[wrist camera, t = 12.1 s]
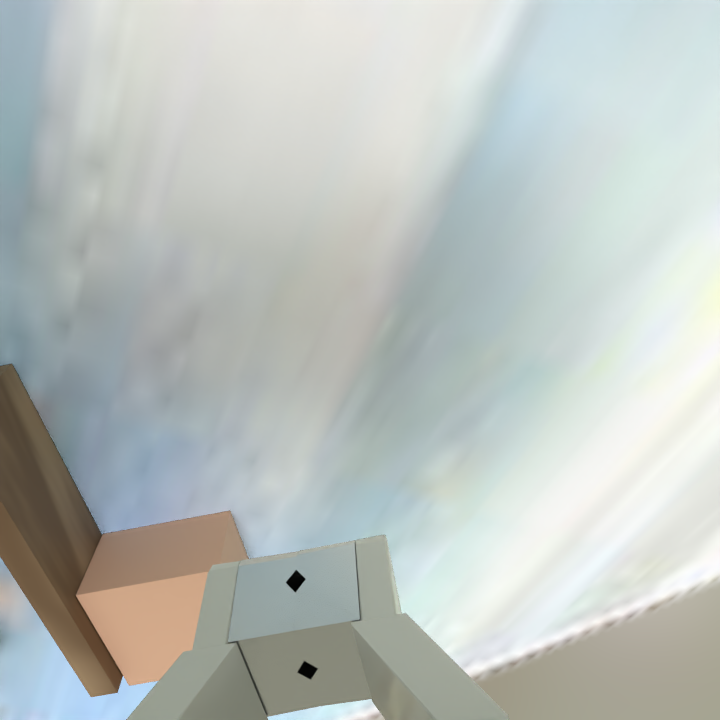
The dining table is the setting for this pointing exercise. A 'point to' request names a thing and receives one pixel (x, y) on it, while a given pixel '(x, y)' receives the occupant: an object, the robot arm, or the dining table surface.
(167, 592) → the block
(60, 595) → the board
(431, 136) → the dining table surface
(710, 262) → the dining table surface
